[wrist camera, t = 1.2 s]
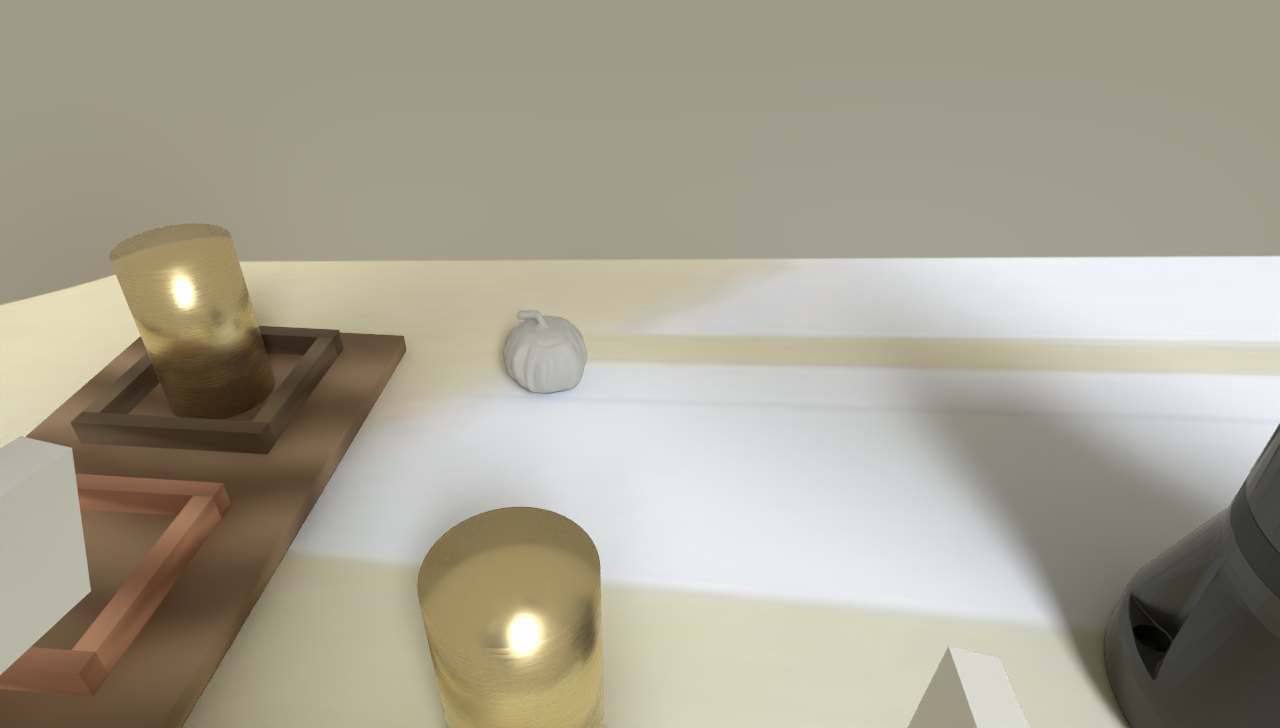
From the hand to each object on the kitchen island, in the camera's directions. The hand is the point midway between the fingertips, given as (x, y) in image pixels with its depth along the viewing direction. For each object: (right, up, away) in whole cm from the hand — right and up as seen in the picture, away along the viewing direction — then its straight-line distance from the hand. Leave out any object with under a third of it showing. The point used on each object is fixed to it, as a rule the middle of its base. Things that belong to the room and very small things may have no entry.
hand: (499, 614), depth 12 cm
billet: (-24, +2, +37) cm, 44 cm away
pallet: (-25, -3, +32) cm, 40 cm away
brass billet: (-2, -11, +20) cm, 23 cm away
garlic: (-4, +2, +41) cm, 41 cm away
